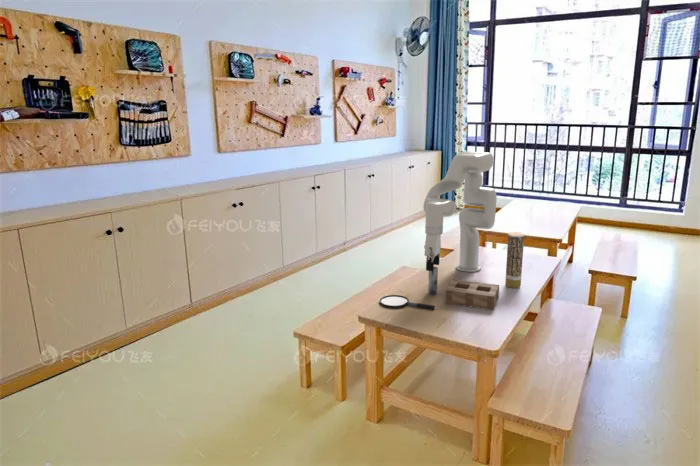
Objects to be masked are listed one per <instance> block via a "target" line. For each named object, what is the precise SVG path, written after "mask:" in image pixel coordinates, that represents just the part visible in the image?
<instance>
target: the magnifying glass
mask: <svg viewBox="0 0 700 466" xmlns="http://www.w3.org/2000/svg"><path fill="white" fill-rule="evenodd" d="M379 304H380V306H381V307H383V308H387V309H392V310H394V309H395V310H396V309H397V310H398V309H403V308H406V307H413V308H417V309H423V310H428V311H429V310H430V311H435V310H436V306H435V305H433V304H427V303H426V304H425V303H420V302H418V303H417V302H411V301H410V299H409V298H408V297H406V296H403V295H399V294H390V295H386V296H383V297H381V298H380V300H379Z"/></svg>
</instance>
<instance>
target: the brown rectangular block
mask: <svg viewBox="0 0 700 466" xmlns="http://www.w3.org/2000/svg"><path fill="white" fill-rule="evenodd" d="M499 294H500V285H499V284H494V283H488V282H487V283H485V282H478V281H470V280H463V279H461V280H460V279H456V278H455V279H452V280H451V282H450V284H449V285H448V286H447V287H446V289H445V304H448V305H449V304H450V305H457V306H462V305H465V306H464V307H469V306H472V307H471V308H476V307H479V308H478V309H483V308H484V310H491V311H494V310H495V307H496V306H497V302H498V300H499V297H500V295H499Z"/></svg>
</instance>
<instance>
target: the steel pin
mask: <svg viewBox="0 0 700 466" xmlns="http://www.w3.org/2000/svg"><path fill="white" fill-rule="evenodd" d="M438 273H439V268H438V267H437V266H434V270H433V271H428V283H427V284H428V288H427V289H428V290H427V291H428V293H427V294H428V295H431V296H435V295H438V283H439V282H438V281H439V280H438V277H439V276H438V275H439V274H438Z"/></svg>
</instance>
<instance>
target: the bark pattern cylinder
mask: <svg viewBox="0 0 700 466" xmlns="http://www.w3.org/2000/svg"><path fill="white" fill-rule="evenodd" d="M507 235H508V236H507V252H506V264H505V265H506V268H505V282H504V283H505V286H506V287H507V288H510V289H519V288H520V287H521V285H522V274H523V272H522V271H523V258H524V243H525V234H524V233H523V232H519V231H518V232H517V231H511V232H509V233H508V234H507Z"/></svg>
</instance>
